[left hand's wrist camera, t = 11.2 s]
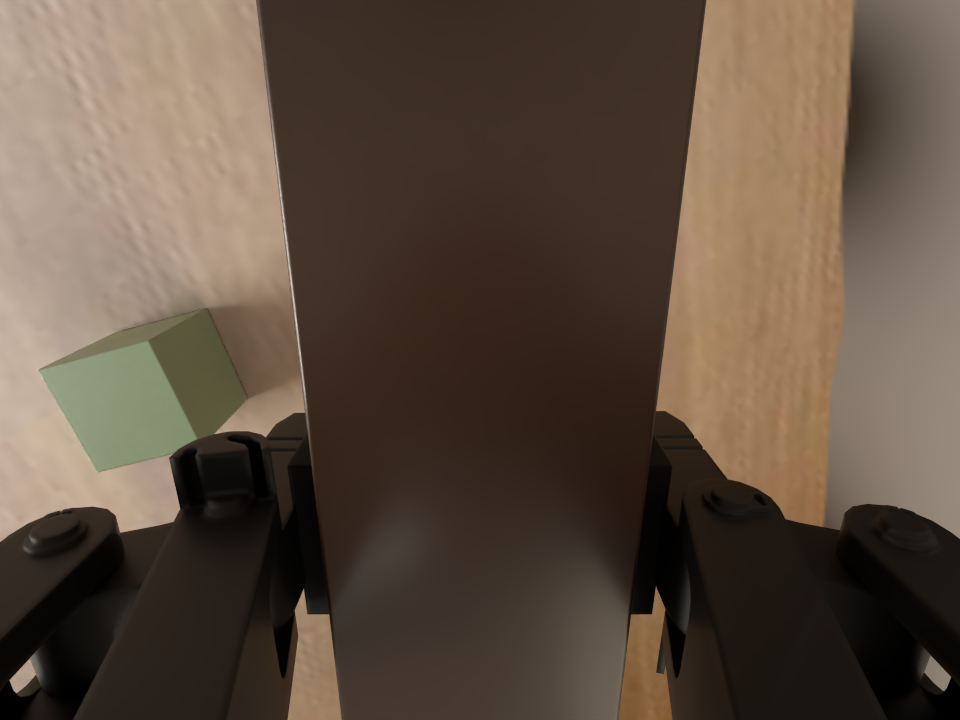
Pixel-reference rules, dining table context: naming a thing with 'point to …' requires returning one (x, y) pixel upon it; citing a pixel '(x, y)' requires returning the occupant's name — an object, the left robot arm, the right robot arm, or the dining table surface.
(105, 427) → the sage block
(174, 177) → the dining table surface
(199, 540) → the left robot arm
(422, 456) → the walnut block
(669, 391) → the dining table surface
